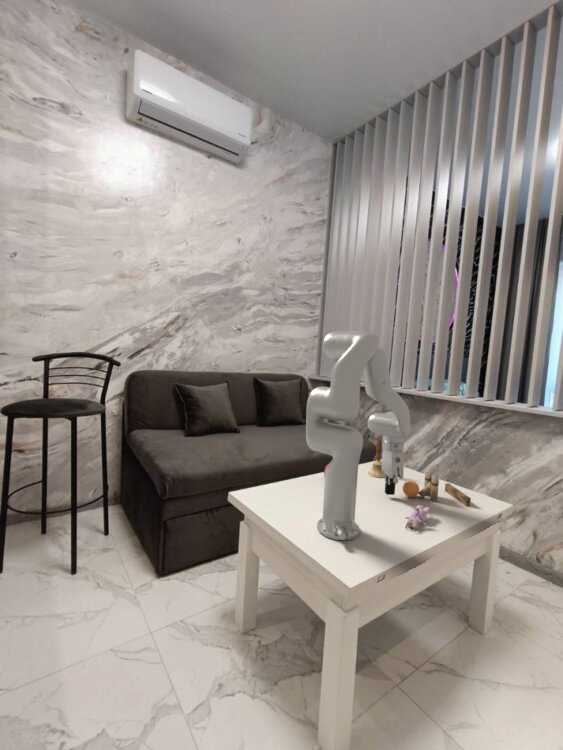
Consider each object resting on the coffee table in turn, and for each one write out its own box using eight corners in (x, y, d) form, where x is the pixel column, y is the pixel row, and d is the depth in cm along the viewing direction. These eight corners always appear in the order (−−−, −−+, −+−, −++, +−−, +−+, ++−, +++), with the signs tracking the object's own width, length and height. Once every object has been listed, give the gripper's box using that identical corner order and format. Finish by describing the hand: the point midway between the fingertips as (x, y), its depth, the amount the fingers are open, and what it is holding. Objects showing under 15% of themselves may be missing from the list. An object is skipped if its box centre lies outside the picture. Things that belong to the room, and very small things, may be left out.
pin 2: (438, 502, 130) (440, 479, 129) (432, 502, 130) (433, 479, 129) (435, 499, 132) (436, 477, 132) (428, 499, 132) (430, 477, 132)
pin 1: (431, 496, 135) (433, 474, 134) (425, 496, 135) (427, 474, 134) (428, 493, 137) (430, 472, 137) (422, 493, 137) (423, 472, 136)
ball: (410, 480, 131) (406, 496, 130) (424, 485, 132) (420, 501, 131) (402, 477, 137) (397, 492, 136) (415, 482, 138) (411, 497, 137)
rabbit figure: (420, 538, 106) (435, 514, 117) (420, 521, 105) (435, 498, 116) (399, 531, 110) (416, 508, 121) (399, 514, 109) (416, 492, 120)
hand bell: (378, 479, 151) (380, 442, 150) (364, 473, 158) (366, 438, 157) (391, 476, 155) (393, 440, 154) (377, 470, 162) (379, 436, 161)
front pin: (424, 499, 132) (440, 483, 132) (420, 494, 132) (436, 478, 132) (421, 496, 134) (437, 480, 135) (416, 492, 134) (432, 476, 134)
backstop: (470, 506, 128) (470, 498, 127) (466, 506, 127) (466, 498, 127) (448, 490, 141) (449, 483, 141) (444, 490, 141) (445, 483, 141)
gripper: (411, 451, 124) (408, 502, 125) (394, 440, 138) (391, 486, 140) (391, 451, 123) (387, 502, 124) (375, 440, 138) (372, 485, 139)
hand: (389, 493), depth 132 cm, fingers closed
